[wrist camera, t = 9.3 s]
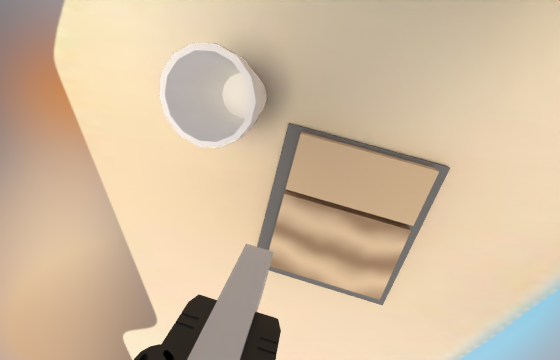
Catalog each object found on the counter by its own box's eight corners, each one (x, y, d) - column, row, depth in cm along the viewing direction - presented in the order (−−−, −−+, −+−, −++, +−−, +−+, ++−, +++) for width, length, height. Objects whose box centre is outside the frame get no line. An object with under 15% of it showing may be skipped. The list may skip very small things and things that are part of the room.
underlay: (289, 123, 37) (286, 125, 35) (446, 165, 36) (457, 172, 33) (254, 261, 46) (249, 272, 43) (381, 300, 44) (385, 314, 41)
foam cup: (279, 60, 35) (257, 44, 23) (276, 131, 38) (254, 151, 26) (210, 58, 36) (153, 41, 24) (212, 127, 39) (163, 143, 27)
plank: (285, 189, 39) (284, 193, 38) (406, 224, 38) (411, 230, 36) (267, 257, 43) (264, 264, 41) (377, 291, 42) (379, 299, 40)
